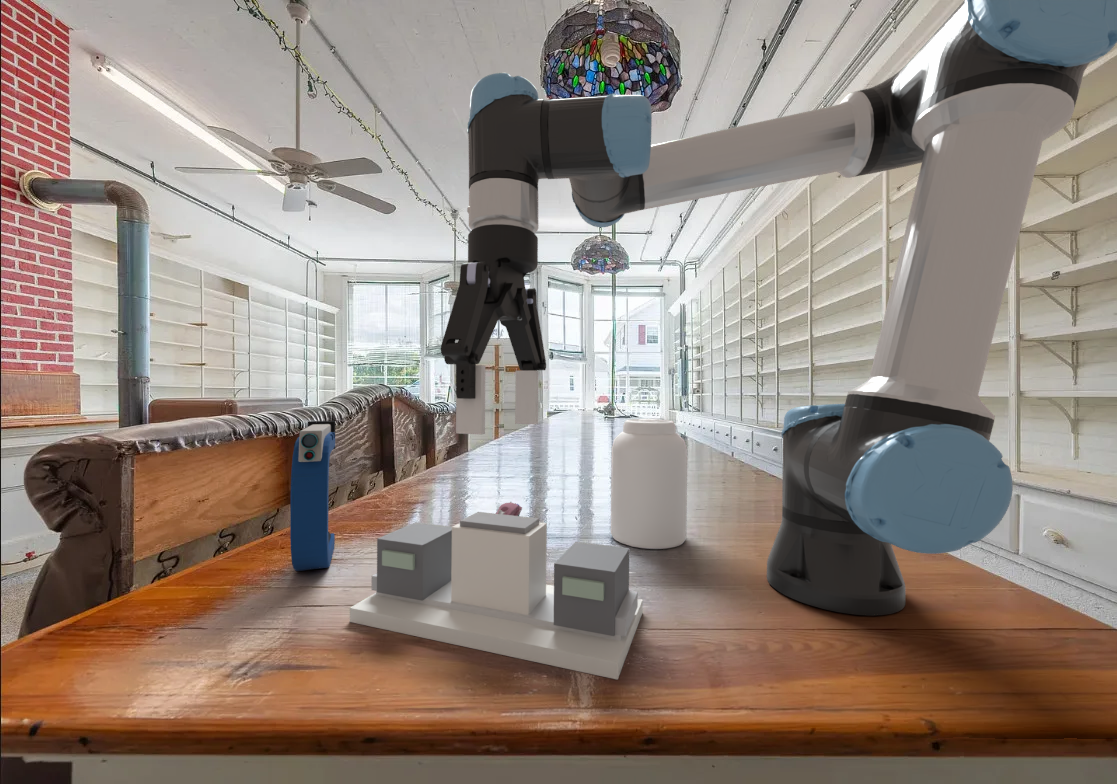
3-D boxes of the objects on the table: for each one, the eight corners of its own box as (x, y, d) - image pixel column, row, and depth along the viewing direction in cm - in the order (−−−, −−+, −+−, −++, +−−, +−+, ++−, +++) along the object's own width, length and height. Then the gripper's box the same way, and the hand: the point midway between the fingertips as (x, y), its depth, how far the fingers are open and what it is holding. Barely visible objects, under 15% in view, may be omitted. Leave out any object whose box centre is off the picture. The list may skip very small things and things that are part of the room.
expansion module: (474, 583, 56) (474, 510, 56) (546, 595, 53) (546, 517, 53) (451, 601, 51) (451, 521, 51) (528, 615, 48) (529, 530, 48)
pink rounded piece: (494, 557, 75) (514, 518, 74) (470, 542, 75) (489, 504, 75) (512, 538, 84) (530, 503, 84) (490, 524, 85) (507, 491, 85)
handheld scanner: (338, 542, 76) (336, 420, 76) (329, 580, 61) (327, 428, 61) (306, 546, 75) (304, 421, 74) (289, 586, 60) (286, 429, 59)
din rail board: (642, 612, 53) (643, 540, 53) (617, 679, 41) (618, 586, 41) (422, 576, 63) (423, 515, 63) (349, 621, 51) (350, 545, 51)
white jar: (608, 526, 86) (609, 416, 86) (677, 528, 86) (678, 417, 86) (613, 550, 74) (614, 421, 74) (694, 552, 73) (696, 422, 73)
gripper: (518, 264, 65) (517, 420, 65) (400, 192, 41) (399, 437, 41) (571, 259, 62) (569, 421, 62) (477, 180, 39) (475, 441, 39)
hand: (501, 428), depth 52 cm, fingers open, 13 cm apart
